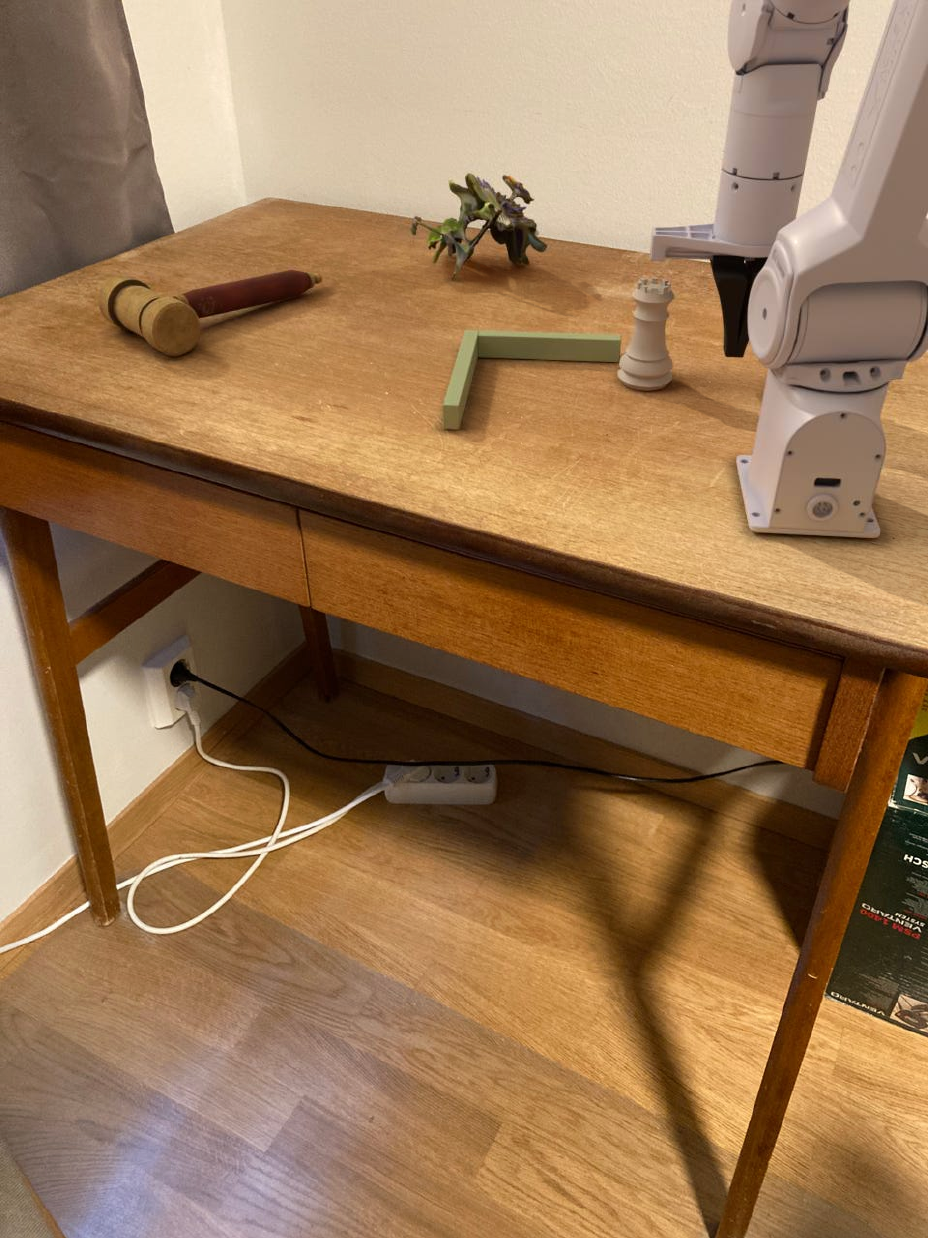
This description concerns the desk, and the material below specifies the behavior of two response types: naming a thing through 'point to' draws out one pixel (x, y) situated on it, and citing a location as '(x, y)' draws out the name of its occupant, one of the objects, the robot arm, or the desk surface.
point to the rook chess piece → (648, 339)
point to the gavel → (191, 305)
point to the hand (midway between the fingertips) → (733, 352)
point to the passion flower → (499, 218)
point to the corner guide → (519, 357)
